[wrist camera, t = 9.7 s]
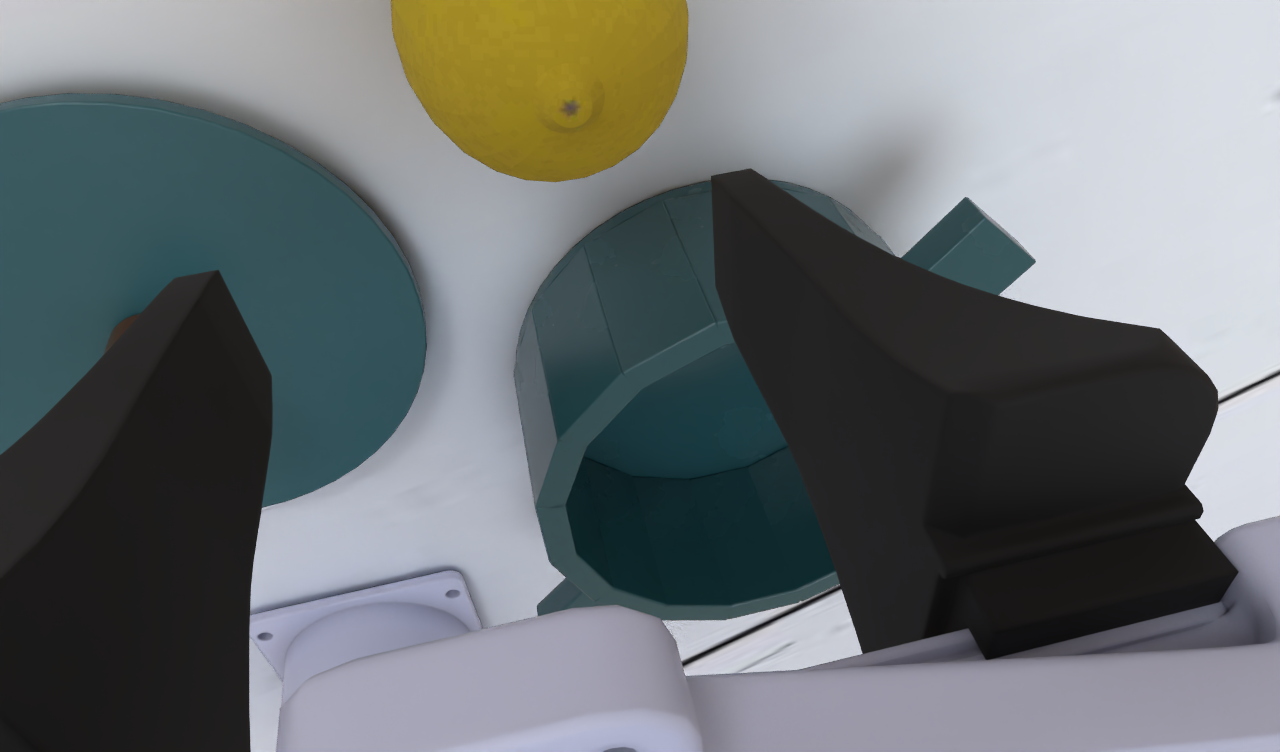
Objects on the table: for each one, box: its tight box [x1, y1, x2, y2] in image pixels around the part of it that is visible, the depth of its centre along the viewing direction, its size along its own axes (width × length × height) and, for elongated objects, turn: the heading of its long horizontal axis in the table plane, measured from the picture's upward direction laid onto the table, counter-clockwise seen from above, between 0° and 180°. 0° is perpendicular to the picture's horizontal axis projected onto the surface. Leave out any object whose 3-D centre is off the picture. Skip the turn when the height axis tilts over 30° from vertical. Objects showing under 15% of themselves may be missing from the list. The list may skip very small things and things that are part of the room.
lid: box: [0, 93, 427, 508], centre depth 23 cm, size 14×14×5 cm
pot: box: [514, 180, 1036, 620], centre depth 27 cm, size 13×18×6 cm
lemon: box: [391, 0, 688, 182], centre depth 17 cm, size 6×6×8 cm
